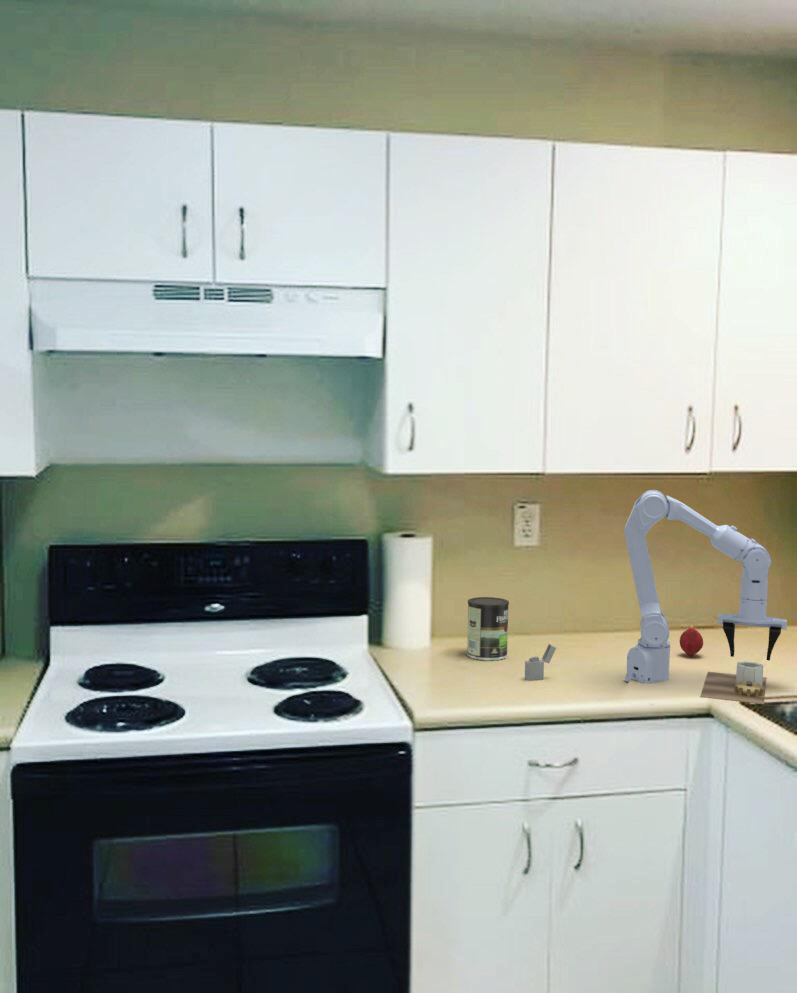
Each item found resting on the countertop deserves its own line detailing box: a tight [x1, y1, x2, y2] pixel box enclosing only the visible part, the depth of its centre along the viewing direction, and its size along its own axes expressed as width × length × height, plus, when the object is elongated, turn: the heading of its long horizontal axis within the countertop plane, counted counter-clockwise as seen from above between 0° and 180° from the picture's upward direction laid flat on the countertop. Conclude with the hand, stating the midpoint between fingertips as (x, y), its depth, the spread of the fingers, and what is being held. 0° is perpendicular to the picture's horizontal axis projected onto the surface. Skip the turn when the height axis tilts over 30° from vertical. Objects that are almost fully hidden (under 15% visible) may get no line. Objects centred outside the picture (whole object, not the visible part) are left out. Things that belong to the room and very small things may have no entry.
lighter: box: [524, 643, 557, 682], centre depth 237 cm, size 7×2×8 cm, turn 105°
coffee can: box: [466, 596, 510, 662], centre depth 257 cm, size 10×10×14 cm
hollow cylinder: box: [736, 661, 764, 686], centre depth 231 cm, size 6×6×4 cm
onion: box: [679, 624, 704, 657], centre depth 259 cm, size 6×6×8 cm
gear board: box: [699, 671, 767, 705], centre depth 228 cm, size 22×13×4 cm, turn 159°
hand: (750, 657), depth 230 cm, fingers open, 7 cm apart
